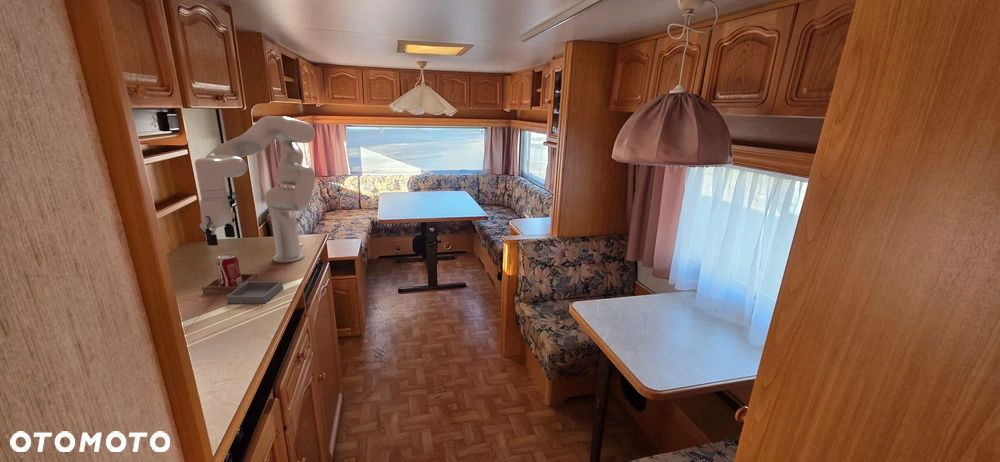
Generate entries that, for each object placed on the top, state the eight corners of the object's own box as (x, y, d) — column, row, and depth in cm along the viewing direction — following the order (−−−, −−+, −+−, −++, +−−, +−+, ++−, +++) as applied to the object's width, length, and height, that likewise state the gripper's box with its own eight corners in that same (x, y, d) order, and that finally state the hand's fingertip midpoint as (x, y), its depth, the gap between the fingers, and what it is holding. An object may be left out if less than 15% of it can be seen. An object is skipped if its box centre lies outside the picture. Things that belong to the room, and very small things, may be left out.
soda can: (246, 283, 153) (241, 253, 150) (233, 290, 147) (227, 260, 143) (230, 282, 154) (224, 252, 150) (216, 289, 148) (210, 259, 144)
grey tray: (248, 288, 149) (247, 281, 148) (283, 288, 149) (282, 281, 148) (227, 304, 137) (226, 296, 136) (265, 304, 137) (263, 296, 136)
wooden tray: (225, 279, 156) (224, 273, 156) (258, 279, 157) (257, 273, 156) (203, 293, 144) (201, 287, 144) (239, 294, 145) (237, 287, 144)
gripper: (219, 189, 148) (226, 234, 153) (184, 198, 132) (194, 248, 136) (239, 189, 148) (246, 234, 153) (208, 199, 132) (216, 248, 137)
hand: (222, 241), depth 145 cm, fingers open, 9 cm apart
